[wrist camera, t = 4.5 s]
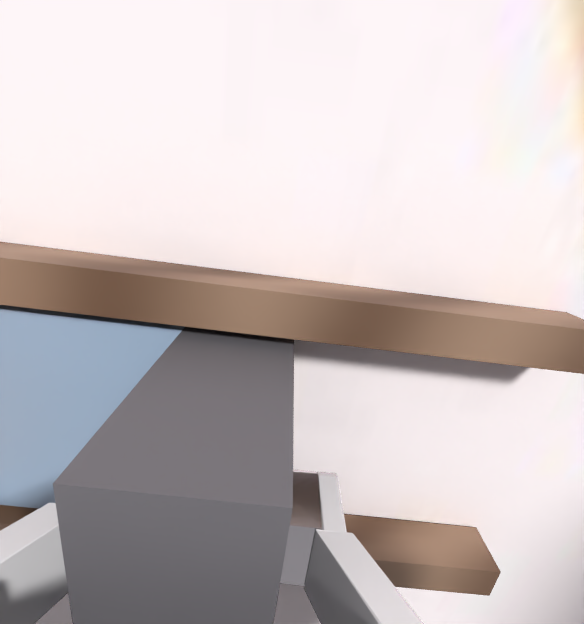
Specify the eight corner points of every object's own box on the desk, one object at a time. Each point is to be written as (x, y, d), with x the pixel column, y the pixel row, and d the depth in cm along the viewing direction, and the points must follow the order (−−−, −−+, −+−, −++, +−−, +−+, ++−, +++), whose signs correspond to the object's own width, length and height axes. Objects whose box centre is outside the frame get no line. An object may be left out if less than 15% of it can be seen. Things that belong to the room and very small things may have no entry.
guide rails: (566, 312, 10) (616, 333, 8) (466, 549, 13) (489, 595, 12) (-282, 206, 9) (-398, 208, 8) (-164, 487, 12) (-228, 527, 11)
